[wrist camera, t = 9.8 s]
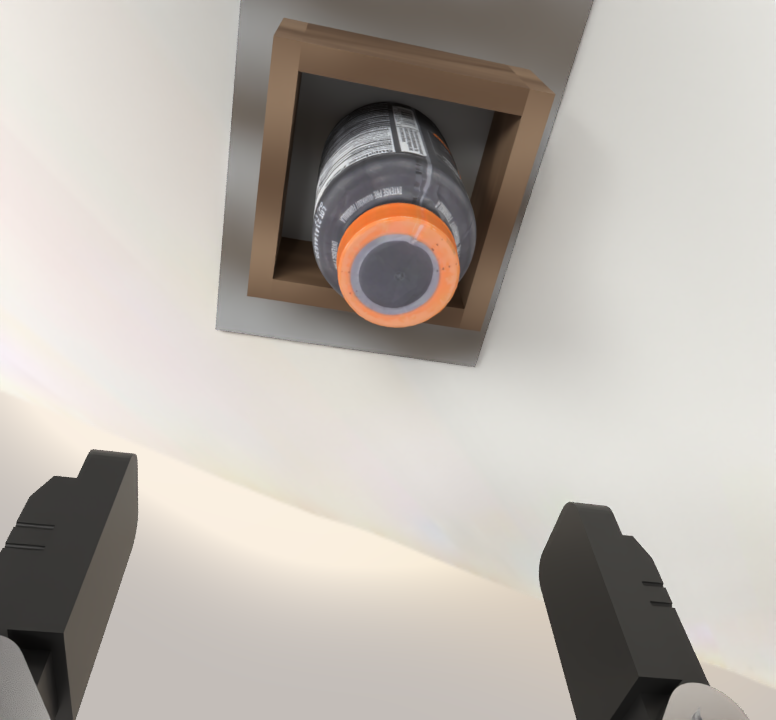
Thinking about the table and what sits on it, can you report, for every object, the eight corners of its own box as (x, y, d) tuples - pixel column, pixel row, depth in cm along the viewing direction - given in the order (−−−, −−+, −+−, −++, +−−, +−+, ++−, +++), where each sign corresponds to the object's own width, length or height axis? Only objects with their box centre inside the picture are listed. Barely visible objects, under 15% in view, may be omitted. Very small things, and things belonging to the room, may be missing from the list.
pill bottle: (449, 224, 33) (487, 352, 24) (326, 231, 33) (315, 361, 24) (450, 94, 30) (494, 184, 21) (313, 101, 30) (295, 194, 21)
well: (252, -134, 26) (233, -140, 22) (605, -48, 28) (649, -39, 24) (216, 325, 36) (199, 379, 32) (473, 362, 38) (488, 417, 34)
